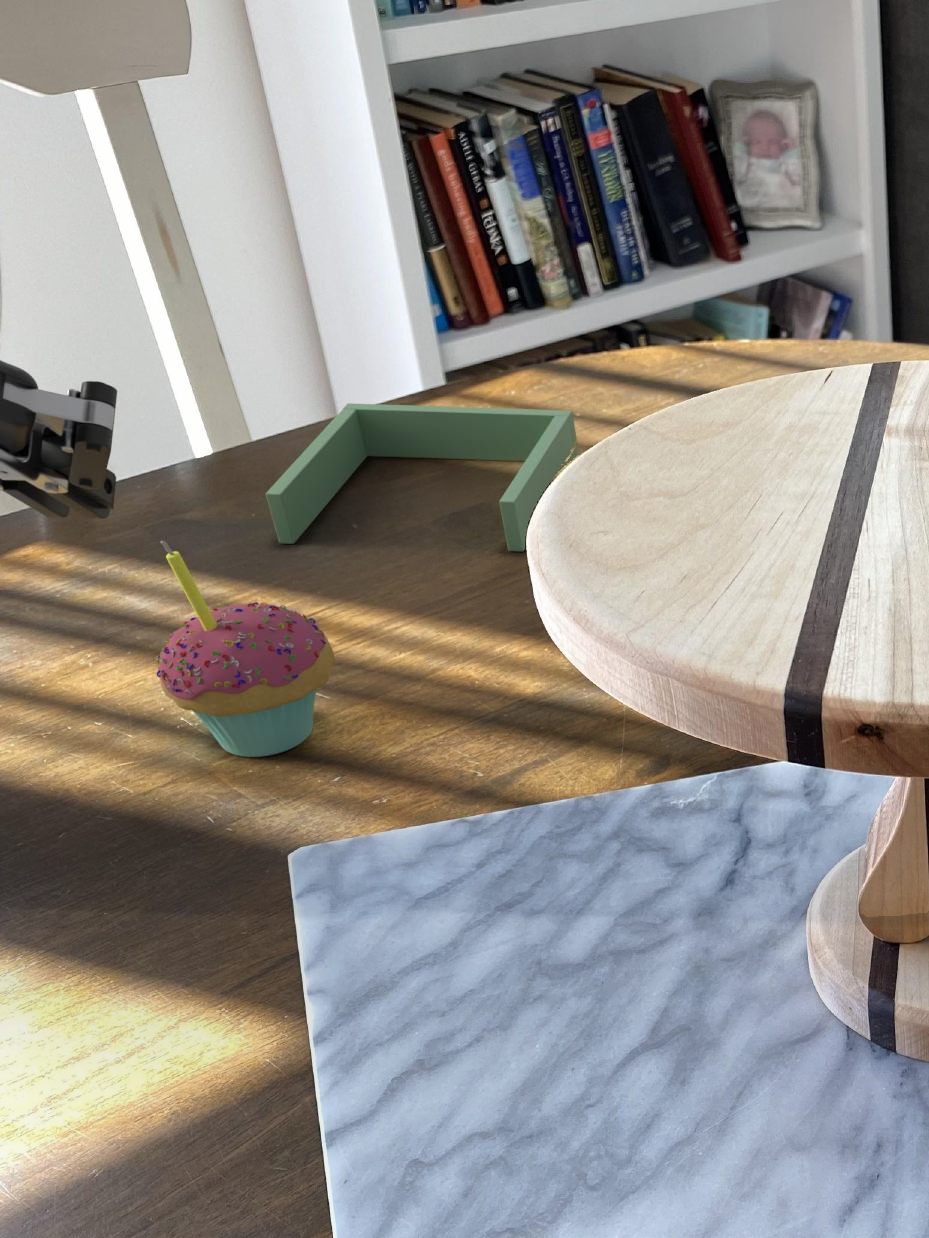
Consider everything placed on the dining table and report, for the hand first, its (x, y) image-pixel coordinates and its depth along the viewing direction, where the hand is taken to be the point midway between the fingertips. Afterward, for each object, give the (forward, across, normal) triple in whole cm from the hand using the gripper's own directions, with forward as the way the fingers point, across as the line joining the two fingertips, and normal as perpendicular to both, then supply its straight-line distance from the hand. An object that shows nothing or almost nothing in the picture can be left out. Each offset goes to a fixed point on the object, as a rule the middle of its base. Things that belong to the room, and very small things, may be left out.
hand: (81, 496), depth 74 cm
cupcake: (+19, 0, +6) cm, 20 cm away
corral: (+40, 0, -14) cm, 42 cm away
